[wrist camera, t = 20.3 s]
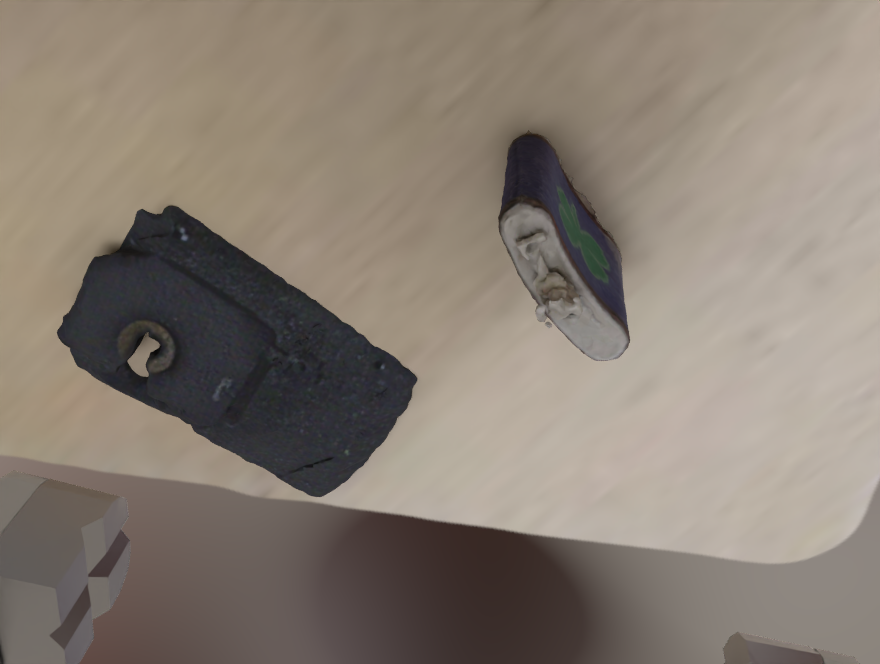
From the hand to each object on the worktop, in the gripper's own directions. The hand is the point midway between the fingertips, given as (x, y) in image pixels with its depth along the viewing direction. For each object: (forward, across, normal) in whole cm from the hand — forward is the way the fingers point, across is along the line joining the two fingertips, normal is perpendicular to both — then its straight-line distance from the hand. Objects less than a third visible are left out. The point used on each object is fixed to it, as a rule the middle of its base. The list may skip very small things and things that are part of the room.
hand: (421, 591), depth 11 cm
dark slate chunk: (+38, +14, +26) cm, 48 cm away
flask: (+37, -4, +10) cm, 39 cm away
